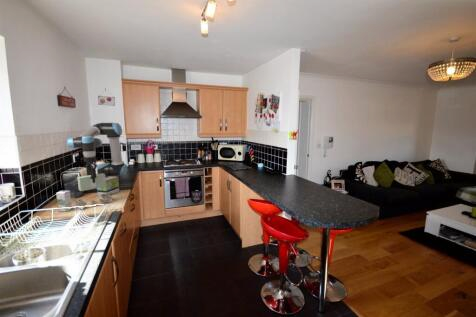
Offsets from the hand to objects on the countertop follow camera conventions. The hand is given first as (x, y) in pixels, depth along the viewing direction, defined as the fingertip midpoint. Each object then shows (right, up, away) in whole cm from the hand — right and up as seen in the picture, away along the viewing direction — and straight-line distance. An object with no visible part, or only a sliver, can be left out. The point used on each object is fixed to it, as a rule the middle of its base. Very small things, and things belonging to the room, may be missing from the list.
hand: (92, 185), depth 166 cm
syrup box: (-13, -17, -10) cm, 24 cm away
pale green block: (0, -2, 0) cm, 2 cm away
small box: (-30, -12, +21) cm, 38 cm away
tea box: (-5, -11, +29) cm, 31 cm away
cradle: (0, -15, +2) cm, 15 cm away
